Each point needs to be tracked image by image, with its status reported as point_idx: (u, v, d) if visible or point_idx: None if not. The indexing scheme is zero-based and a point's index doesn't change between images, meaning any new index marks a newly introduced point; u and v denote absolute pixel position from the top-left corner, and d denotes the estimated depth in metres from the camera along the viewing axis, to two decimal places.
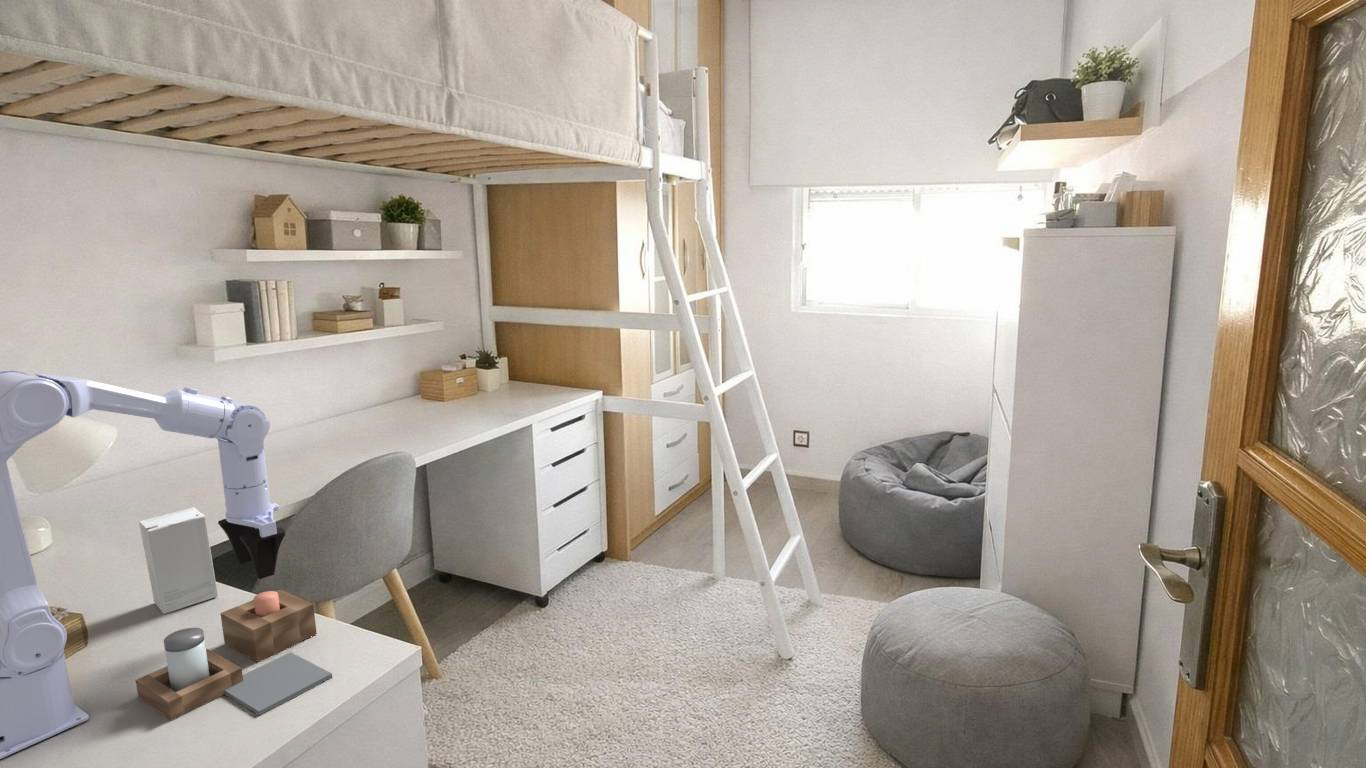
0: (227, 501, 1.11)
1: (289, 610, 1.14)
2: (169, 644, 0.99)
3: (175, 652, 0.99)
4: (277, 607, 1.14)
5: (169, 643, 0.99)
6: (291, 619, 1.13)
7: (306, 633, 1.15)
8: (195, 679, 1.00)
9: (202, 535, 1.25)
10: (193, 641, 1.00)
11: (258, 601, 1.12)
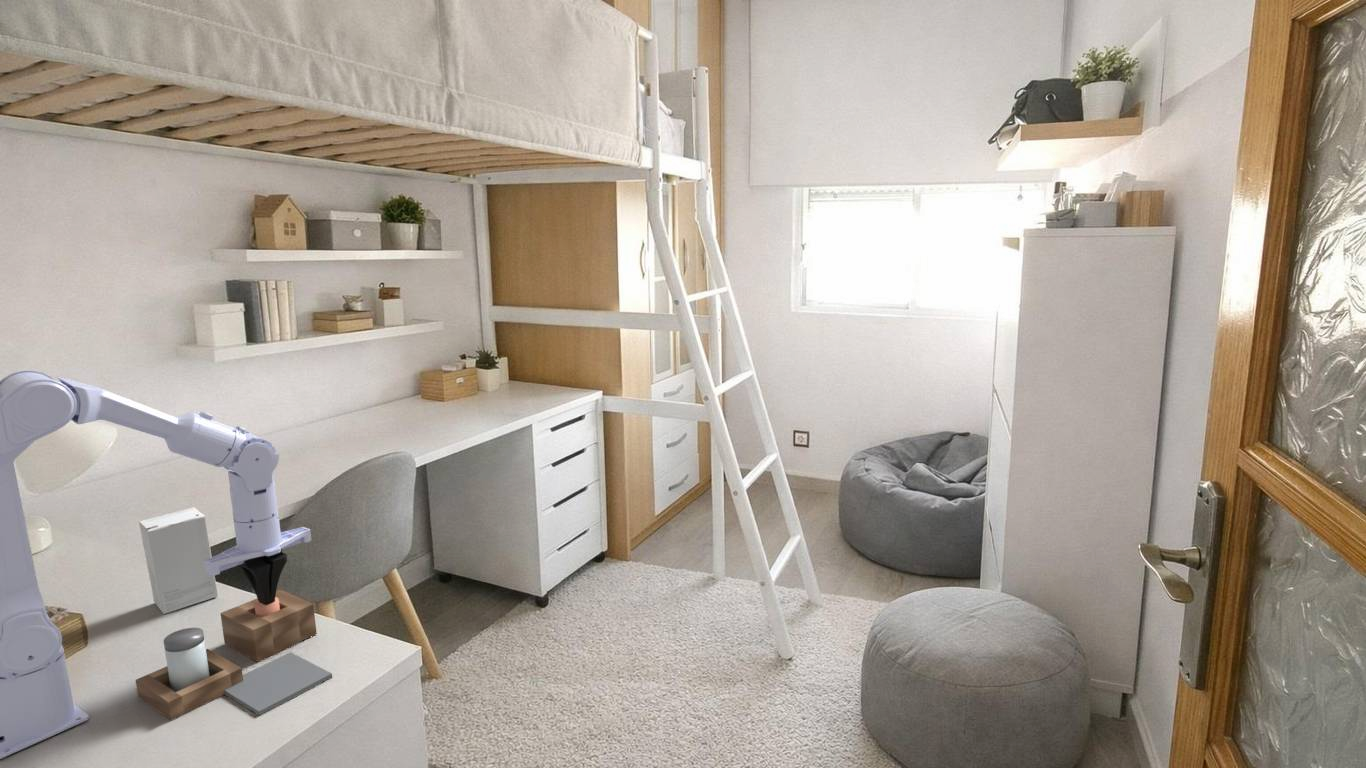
0: None
1: (289, 610, 1.14)
2: (169, 644, 0.99)
3: (175, 652, 0.99)
4: None
5: (169, 643, 0.99)
6: (291, 619, 1.13)
7: (306, 633, 1.15)
8: (195, 679, 1.00)
9: (202, 535, 1.25)
10: (193, 641, 1.00)
11: (258, 607, 1.12)
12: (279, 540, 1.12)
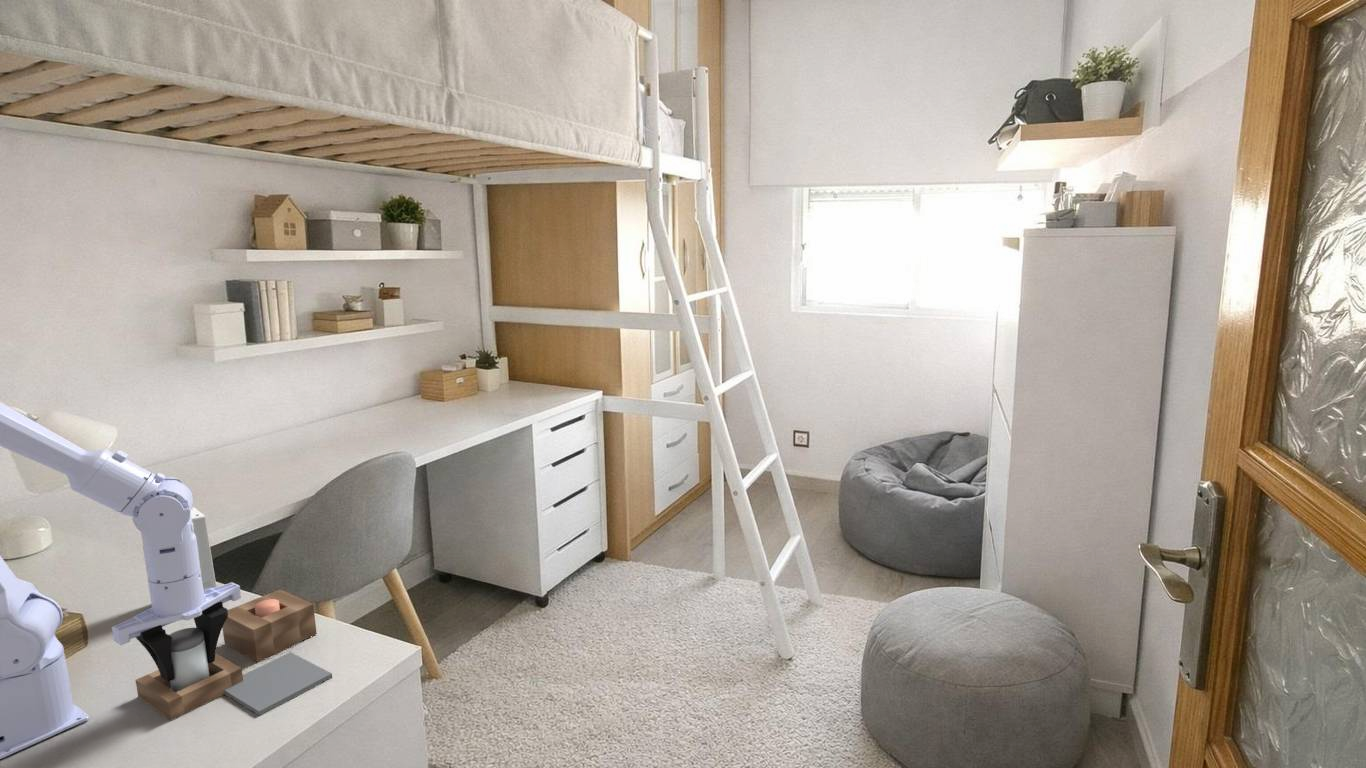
0: None
1: (289, 610, 1.14)
2: None
3: (175, 652, 0.99)
4: None
5: None
6: (291, 619, 1.13)
7: (306, 633, 1.15)
8: (195, 679, 1.00)
9: (202, 535, 1.25)
10: (193, 641, 1.00)
11: (259, 609, 1.12)
12: (201, 601, 1.00)
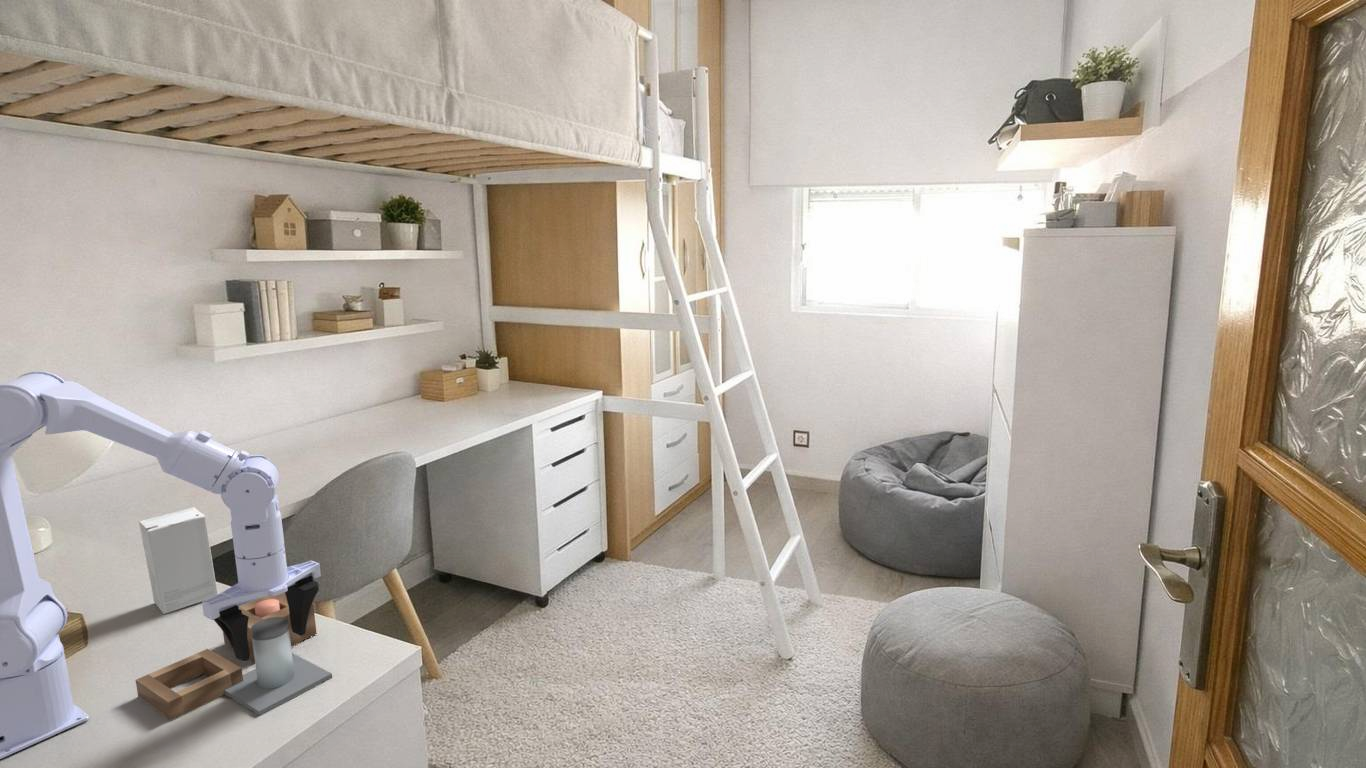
0: None
1: None
2: (258, 633, 1.00)
3: (264, 640, 1.00)
4: None
5: (257, 632, 1.00)
6: None
7: (306, 633, 1.15)
8: (282, 666, 1.02)
9: (202, 535, 1.25)
10: (280, 629, 1.01)
11: (259, 609, 1.12)
12: (285, 577, 1.01)
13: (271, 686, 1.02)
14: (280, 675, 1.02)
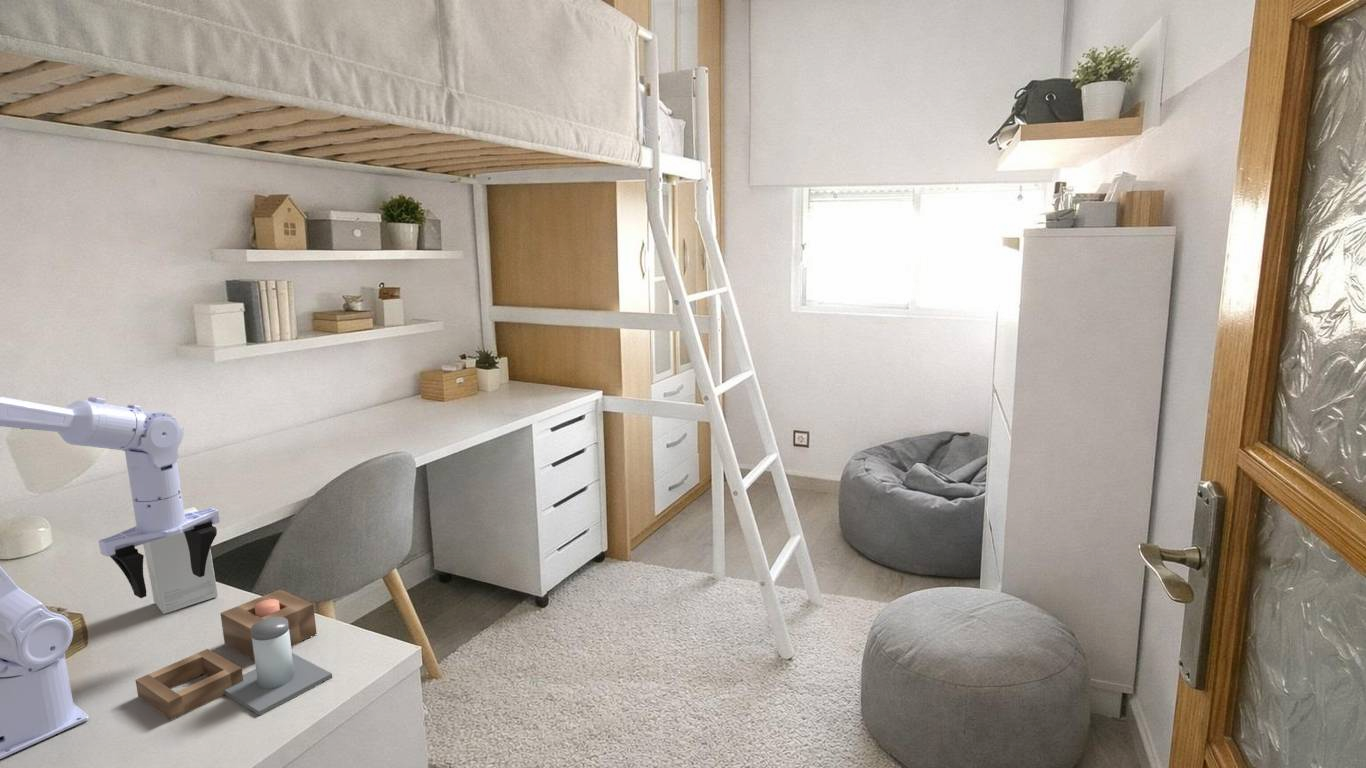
0: None
1: (289, 610, 1.14)
2: (258, 633, 1.00)
3: (264, 641, 1.00)
4: None
5: (257, 632, 1.00)
6: (291, 619, 1.13)
7: (306, 633, 1.15)
8: (282, 667, 1.02)
9: None
10: (280, 629, 1.01)
11: (259, 609, 1.12)
12: (182, 521, 1.08)
13: (271, 686, 1.02)
14: (280, 675, 1.02)
